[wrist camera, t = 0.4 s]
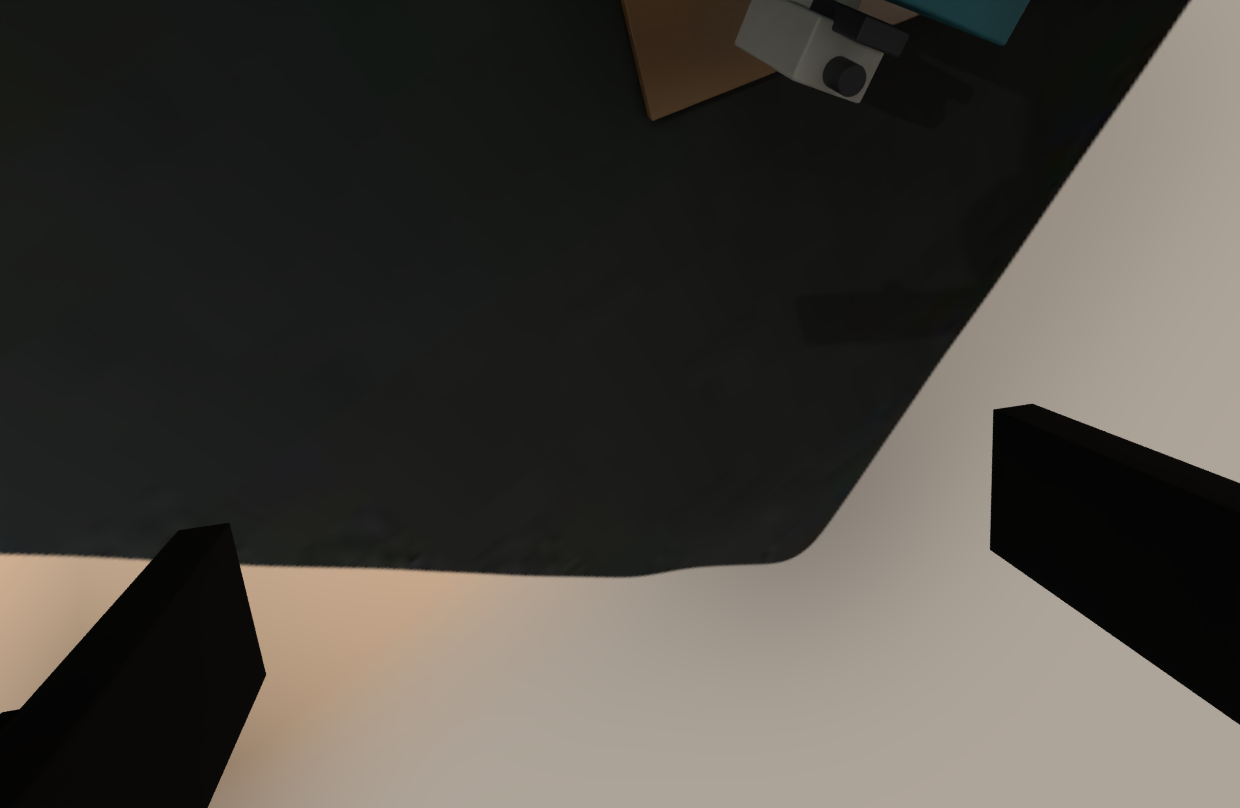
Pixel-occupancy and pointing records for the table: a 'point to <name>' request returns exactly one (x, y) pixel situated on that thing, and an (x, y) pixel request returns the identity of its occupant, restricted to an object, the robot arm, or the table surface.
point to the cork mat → (701, 48)
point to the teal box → (855, 36)
